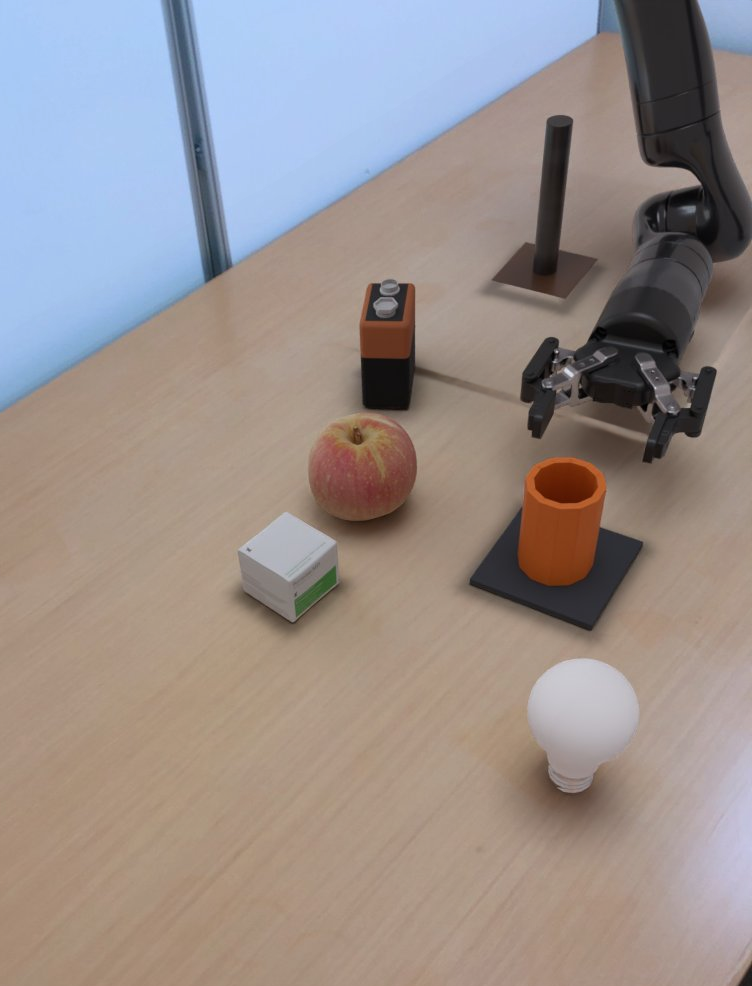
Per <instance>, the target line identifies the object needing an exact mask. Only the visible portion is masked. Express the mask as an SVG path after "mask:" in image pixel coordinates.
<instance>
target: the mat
mask: <svg viewBox="0 0 752 986" xmlns="http://www.w3.org/2000/svg"><path fill="white" fill-rule="evenodd" d="M522 508H523V505H522V506H521V508H520V509H519V510H518V512H517V513H516V515H515V516H514V517H513V519H512V520H511V521H510V523H509V524H508V525H507V527H506V528H505V530H504V531H503V532H502V534H501V535H500V536H499V538H498V539H497V540H496V542H495V543H494V545H493V546H492V547H491V549H490V550H489V552H488V553H487V554H486V556H485V557H484V559H483V560H482V561H481V563H480V564H479V566H478V567H477V568H476V570H475V571H474V573H473V574H472V575H471V577H470V578H469V585H471V586H474V587H476V588H479V589H482V590H484V591H487V592H489V593H492V594H494V595H497V596H500V597H502V598H505V599H508V600H509V601H510V600H511V601H513V602H516V603H517V604H521V605H523V606H526V607H528V608H532V609H534V610H537V611H539V612H542V613H545V614H547V615H550V616H552V617H555V618H557V619H559V620H562V621H564V622H568V623H571V624H573V625H575V626H578V627H581V628H583V629H586V630H589V631H592V629H593V628H594V626H595V625H596V623H597V622H598V621H599V618H600V617H601V615H602V613H603V612H604V610H605V609H606V607H607V605H608V604H609V602H610V600H611V598H612V597H613V595H614V594H615V592H616V591H617V590H618V587H619V586H620V584H621V583H622V581H623V579H624V577H625V576H626V574H627V573H628V571H629V569H630V568H631V566H632V564H633V563H634V561H635V559H637V557H638V555H639V553H640V552H641V550H642V548H643V545H644V541H643V540H639V539H636V538H634V537H630V536H628V535H624V534H621V533H619V532H616V531H612V530H610V529H607V528H604V527H601V526H600V528H599V534H598V540H597V545H596V551H595V557H594V562H593V566H592V568H591V570H590V571H589V573H588V574H587V576H586V577H585V578H584V579H582V580H580V581H578V582H575V583H573V584H571V585H568V586H547V585H545V584H542V583H539V582H537V581H534V580H531V579H530V578H529V577H528V576H527V575H526V574H525V573H524V572H523V571H522V570H521V568H520V567H519V561H518V547H519V537H520V527H521V518H522Z"/></svg>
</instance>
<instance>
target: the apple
mask: <svg viewBox="0 0 752 986" xmlns="http://www.w3.org/2000/svg"><path fill="white" fill-rule="evenodd" d="M308 455H309V456H308V465H307V466H308V467H307V473H308V474H307V475H308V483H309V488H310V490H311V494H312V496H313V498H314V500H315V501H316V502H317V503H318V505H319V506H320V507H321V508H322V509H323V510H324V511H325V512H327V513H328V514H329V515H330V516H333V517H336V518H338V519H341V520H345V521H355V522H362V521H369V520H374V519H377V518H380V517H383V516H386V515H389V514H390V513H393V512H394V511H396V510H397V509H399V507H401V506H402V505H403V504H404V503H405V502H406V500H407V499H408V498H409V496H410V495H411V493H412V491H413V488H414V486H415V483H416V479H417V474H418V460H417V453H416V449H415V445H414V443H413V440H412V439H411V437H410V435H409V433H408V432H407V431H406V429H404V428H403V426H402V425H401V424H400V423H398V422H397V421H396V420H394V419H393V418H391V417H389V416H387V415H384V414H381V413H377V412H376V413H375V412H358V413H352V414H348V415H343V416H340V417H338V418H335V419H333V420H332V421H330V422H329V423H328V424H327V425H325V426H324V427H323V428H322V429H321V430H320V432H319V433H318V435H317V436H316V438H315V439H314V441H313V443H312V444H311V447H310V451H309V454H308Z"/></svg>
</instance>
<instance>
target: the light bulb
mask: <svg viewBox="0 0 752 986" xmlns="http://www.w3.org/2000/svg"><path fill="white" fill-rule="evenodd" d="M636 694H637V693H636V691H635V690H634V688H633V686H632V684H631V683H630V681H629V680H628V679H627V678H626V676H624V674H623V673H622V672H621V671H620V670H619V669H617V668H615V667H614V666H612V665H610V664H608V663H606V662H603V661H601V660H597V659H593V658H585V657H583V658H581V657H580V658H571V659H567V660H564V661H560V662H558V663H556V664H555V665H553V666H552V667H550V668H548V669H547V670H545V671H544V673H542V674H541V675H540V676H539V677H538V678H537V680H536V682H535V683H534V685H533V687H532V688H531V691H530V694H529V697H528V701H527V708H526V709H527V710H526V715H527V717H526V718H527V722H528V726H529V730H530V732H531V734H532V736H533V739H534V740H535V742H536V743H537V744H538V746H539V747H540V748H541V749H542V751H544V752H546V758H547V761H548V765H547V774H548V776H549V779H550V782H551V783H552V785H554V787H555V788H556V789H558V790H559V791H560V792H562V793H565V794H566V793H567V794H578V793H579V794H580V793H582V792H583V791H585V790H587V789H589V787H590V786H591V785H592V783H593V782H594V778H595V773H596V772H597V770H598V769H599V767H600V765H602V764H605V763H607V762H609V761H612V760H614V759H615V758H616V757H618V756H620V755H621V754H622V753H623V752H624V750H625V749H626V748H627V747H628V746H629V745H630V744H631V742H632V740H633V739H634V736H635V734H636V732H637V730H638V726H639V723H640V722H639V721H640V705H639V702H638V697H637V695H636Z"/></svg>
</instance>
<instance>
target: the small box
mask: <svg viewBox="0 0 752 986" xmlns="http://www.w3.org/2000/svg"><path fill="white" fill-rule="evenodd" d="M237 558H238V562H239V563H238V564H239V568H240V574H241V575H240V576H241V581H242V588H243V591H244V592H245V593H246V594H248V595H249V596H250V597H252V598H254V599H255V600H257V601H258V602H260V603H261V604H263V605H264V606H266V607H268V608H269V609H270V610H271V611H274V612H275V613H276V614H278V615H279V616H281V617H283V618H284V619H285V620H287V621H289V622H290V623H294V622H296V621H297V620H298V619H299V618H300V617H301V616H303V614H305V613H306V612H307V611H308V610H309V609H310V608H312V607H313V606H314V605H315V604H316V603H318V601H320V600H321V599H322V598H324V596H326V595H327V594H329V592H330V591H331V590H333V589H334V588H336V587H337V586H338V585H339V584H340V572H339V569H340V567H339V553H338V541H336V540H335V539H334V538H332V537H330V536H328V535H327V534H325V533H324V532H322V531H320V530H319V529H317V528H315V527H313V526H311V525H310V524H308V523H306V522H304V521H303V520H301V519H300V518H298V517H296V516H295V515H293V514H292V513H290V512H289V511H284V512H283V513H282V514H281V515H279V516H278V517H277V518H275V519H274V520H273V521H272V522H271V523H269V524H268V525H267V526H266V527H265V528H263V529H262V530H261V531H260V532H258V533H257V534H256V535H255V536H253V537H252V538H250V539H249V540H248V541H246V543H244V544H243V545H242V546H241V547H239V548H238V549H237Z"/></svg>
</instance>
